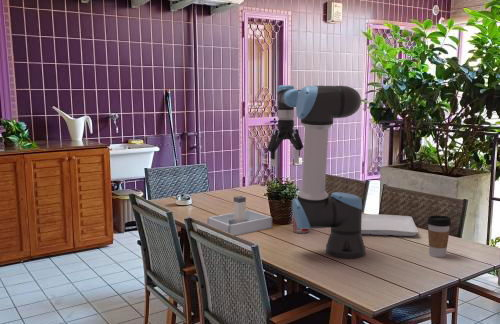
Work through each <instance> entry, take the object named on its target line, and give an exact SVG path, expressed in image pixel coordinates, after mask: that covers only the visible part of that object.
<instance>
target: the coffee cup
mask: <svg viewBox="0 0 500 324" xmlns="http://www.w3.org/2000/svg"><path fill="white" fill-rule="evenodd" d="M427 224H428V226H427V237H428V254H429V256H431V257H434V258H446V256H447V251H448V250H447V248H448V243H449V236H450V226H451V225H452V222H451V217H450V216H448V215H447V216H446V215H429V216H428V217H427Z"/></svg>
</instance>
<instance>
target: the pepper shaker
mask: <svg viewBox="0 0 500 324" xmlns="http://www.w3.org/2000/svg"><path fill="white" fill-rule="evenodd" d="M246 200H247V199H246V196H242V195H238V196H234V197H233V213H234V221H236V222H244V221H246V210H247V201H246Z"/></svg>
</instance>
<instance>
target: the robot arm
mask: <svg viewBox="0 0 500 324" xmlns="http://www.w3.org/2000/svg"><path fill="white" fill-rule="evenodd" d="M276 93H277V119H278V120H277V129H278V130H277V129H275V130H274V129H273V130H272V135H271V137H270V141H269V143H268V146H267V147H266V150H267V151H268V152H269V153H270V159H271V167H275V168H276V167H277V166H278V163H277V162H278V152H277V149H278V148H279V146H280V145H281V144H282V142H283V141H284V140H289V142H290V143H291V144H292V146H293V148H294V149H293V164H296V165H299V164H300V155H301V150H302V149H303V159H302V160H303V161H302V176H301V177H302V178H301V181H302V183H301V189H300V190H299V191H298V192H297V197H296V198H293V199H292V201H291V209H292V210H291V211H292V217H293V216H294V220H295V222H296V225H297V226H298V227H299V228H301V229H309V230H311V229H313V230H315V229H327V228H330V233H329V237H328V241H327V243H326V246H325V252H326V254H327V255H330V256H331V257H333V258H334V257H335V258H339V259H358V258H361V257H364V256H365V255H366V245H364V240H363V234H361V224H362V214H363V203H362V202H363V201H362V198H361V197H360V196H359V195H355V194H352V193H348V192H340V191H336V192H332V193H331V195H330V196H329V193H328V192H327V191H326V176H327V174H326V173H327V160H328V159H327V158H328V143H329V130H330V127H332V126H333V125H334V119H343V118H348V117H351V116H353V115H354V114H356V113H357V112H358V110H359V109H360V107H361V104H362V97H361V95H360V93H359V92H358V91H357V89H355V88H353V87H352V86H347V85H306V86H303V87H302V88H301V89H297V88H295V87H294V85H292V84H291V85H289V84H285V85H284V84H283V85H278V86H277V92H276ZM295 110H296V111H295ZM295 113H296V117H297V119H300V123H301V125H303V126H302V127H304V136H303V142H302V139H301V137H300V134H299V133H300V131H299V129H298V128H294V127H295V120H294V118H295Z"/></svg>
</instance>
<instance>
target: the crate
mask: <svg viewBox="0 0 500 324" xmlns="http://www.w3.org/2000/svg"><path fill="white" fill-rule="evenodd" d="M206 218H207V225H208V224H209V225H211V226H213V227H216V228H218V229H220V230H222V231H225V232H228V233H230V234H233V235H236V236H240V235H244V234H250V233H254V232H259V231H263V230H269V229H272V228H273V217H272V216H270V215H266V214H263V213H260V212H257V211H254V210H251V209H246V221H244V222H236V221H234V212H230V213H224V214H219V215H213V216H208V217H206Z"/></svg>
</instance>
